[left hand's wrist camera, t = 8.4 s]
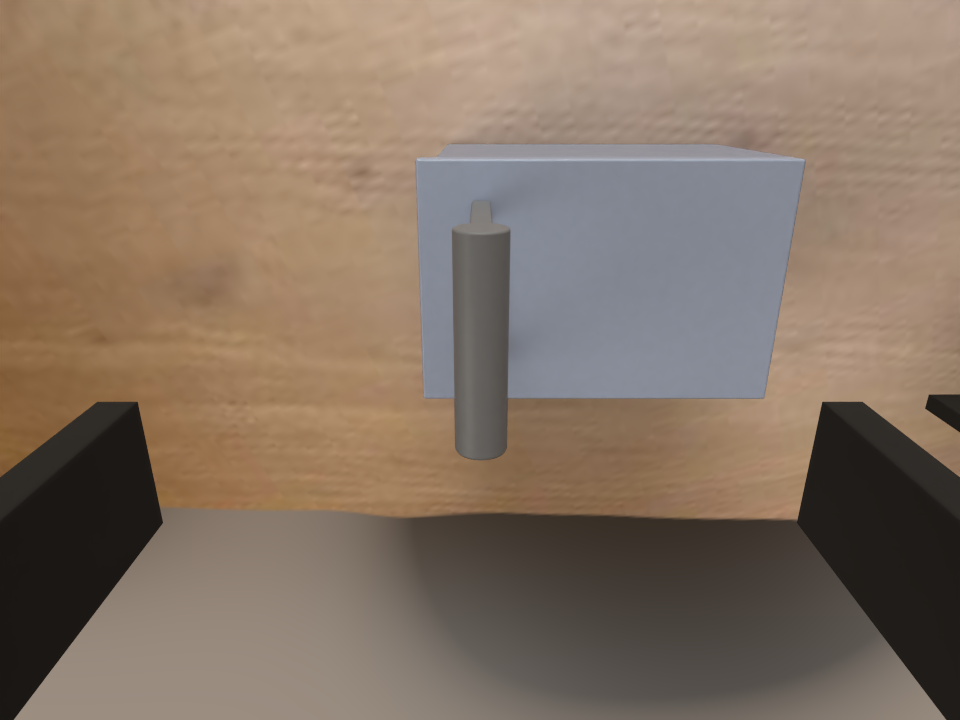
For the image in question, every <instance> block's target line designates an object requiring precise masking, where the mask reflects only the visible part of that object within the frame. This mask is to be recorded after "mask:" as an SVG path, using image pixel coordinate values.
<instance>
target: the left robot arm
mask: <svg viewBox="0 0 960 720" xmlns="http://www.w3.org/2000/svg"><path fill="white" fill-rule="evenodd" d="M162 523H163V521H162V516H161V512H160V506H159V502H158V497H157V492H156V487H155V483H154V478H153V473H152V468H151V464H150V459H149V454H148V449H147V445H146V440H145V435H144V430H143V426H142V421H141V416H140V411H139V407H138V402H97V403H95V404H94V405H93V406H92V407H90V408H89V409H88V410H86V411H85V412H84V413H83V414H81V415H80V416H79V417H77V418H76V419H75V420H74V421H72V422H71V423H70V424H68V425H67V426H66V427H65V428H63V429H62V430H61V431H59V432H58V433H57V434H56V435H54V436H53V437H52V438H50V439H49V440H48V441H47V442H45V443H44V444H43V445H41V446H40V447H39V448H38V449H36V450H35V451H34V452H32V453H31V454H30V455H29V456H27V457H26V458H25V459H23V460H22V461H21V462H19V463H18V464H17V465H16V466H14V467H13V468H12V469H10V470H9V471H8V472H7V473H5V474H4V475H3V476H1V477H0V720H14V718H15V717H16V716H17V715H18V713H19V712H20V711H21V709H22V708H23V707H24V705H25V704H26V703H27V701H28V700H29V699H30V697H31V696H32V695H33V693H34V692H35V691H36V689H37V688H38V687H39V686H40V684H41V683H42V682H43V680H44V679H45V678H46V676H47V675H48V674H49V672H50V671H51V670H52V668H53V667H54V666H55V664H56V663H57V662H58V661H59V659H60V658H61V656H62V655H63V654H64V653H65V651H66V650H67V649H68V647H69V646H70V645H71V643H72V642H73V641H74V639H75V638H76V637H77V635H78V634H79V633H80V632H81V630H82V629H83V628H84V626H85V625H86V624H87V622H88V621H89V620H90V618H91V617H92V616H93V614H94V613H95V612H96V610H97V609H98V608H99V606H100V605H101V604H102V602H103V601H104V600H105V599H106V597H107V596H108V595H109V593H110V592H111V591H112V589H113V588H114V587H115V585H116V584H117V583H118V581H119V580H120V579H121V577H122V576H123V575H124V574H125V572H126V571H127V570H128V568H129V567H130V566H131V564H132V563H133V562H134V560H135V559H136V558H137V556H138V555H139V554H140V552H141V551H142V550H143V548H144V547H145V546H146V544H147V543H148V542H149V541H150V539H151V538H152V537H153V535H154V534H155V533H156V531H157V530H158V529H159V527H160V526H161V525H162ZM797 523H798V525H799V526H800V527H801V529H802V530H803V531H804V533H805V534H806V535H807V537H808V538H809V539H810V541H811V542H812V543H813V545H814V546H815V547H816V548H817V550H818V551H819V552H820V554H821V555H822V556H823V558H824V559H825V560H826V562H827V563H828V564H829V566H830V567H831V568H832V570H833V571H834V572H835V574H836V575H837V576H838V577H839V579H840V580H841V581H842V583H843V584H844V585H845V587H846V588H847V589H848V591H849V592H850V593H851V595H852V596H853V597H854V599H855V600H856V601H857V603H858V604H859V605H860V606H861V608H862V609H863V610H864V612H865V613H866V614H867V616H868V617H869V618H870V620H871V621H872V622H873V623H874V625H875V626H876V628H877V629H878V630H879V632H880V633H881V634H882V635H883V637H884V638H885V639H886V641H887V642H888V643H889V645H890V646H891V647H892V649H893V650H894V651H895V653H896V654H897V655H898V657H899V658H900V659H901V660H902V662H903V663H904V664H905V666H906V667H907V668H908V670H909V671H910V672H911V674H912V675H913V676H914V678H915V679H916V680H917V682H918V683H919V684H920V686H921V687H922V688H923V689H924V691H925V692H926V693H927V695H928V696H929V697H930V699H931V700H932V701H933V703H934V704H935V705H936V707H937V708H938V709H939V711H940V712H941V713H942V715H943V716H944V717H945V719H946V720H960V477H959V476H957V475H956V474H955V473H953V472H952V471H951V470H950V469H948V468H947V467H946V466H944V465H943V464H942V463H941V462H939V461H938V460H937V459H935V458H934V457H933V456H931V455H930V454H929V453H928V452H926V451H925V450H924V449H922V448H921V447H920V446H919V445H917V444H916V443H915V442H913V441H912V440H911V439H910V438H908V437H907V436H906V435H904V434H903V433H902V432H901V431H899V430H898V429H897V428H895V427H894V426H893V425H892V424H890V423H889V422H888V421H886V420H885V419H884V418H883V417H881V416H880V415H879V414H877V413H876V412H875V411H874V410H872V409H871V408H870V407H868V406H867V405H866V404H865V403H863V402H822V407H821V411H820V416H819V421H818V426H817V430H816V435H815V440H814V445H813V449H812V454H811V459H810V464H809V468H808V473H807V478H806V483H805V487H804V492H803V497H802V502H801V506H800V511H799V516H798V521H797Z"/></svg>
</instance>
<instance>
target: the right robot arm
mask: <svg viewBox="0 0 960 720" xmlns="http://www.w3.org/2000/svg"><path fill="white" fill-rule="evenodd" d="M925 409H927V410H928V411H930V412H931V413H932V414H934V415H935V416H937V417H938V418H940V419H941V420H943V421H944V422H946V423H947V424H949V425H950V426H952V427H953V428H954V429H956V430H957V431H959V432H960V395H929V397H928V400H927V404H926V408H925Z"/></svg>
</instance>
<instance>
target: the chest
mask: <svg viewBox="0 0 960 720" xmlns="http://www.w3.org/2000/svg"><path fill="white" fill-rule="evenodd" d="M438 157H789V156H783V155H777V154H771V153H765V152H759V151H753V150H747V149H741V148H735V147H729V146H723V145H717V144H448V145H447V146H446V147H445V148H444V150H443V151H442V152H441V153H440V154H439V155H438Z"/></svg>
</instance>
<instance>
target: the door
mask: <svg viewBox="0 0 960 720" xmlns="http://www.w3.org/2000/svg"><path fill="white" fill-rule="evenodd" d="M804 167H805V160H804V159H800V158H794V157H419V158H418V159H416V190H417V219H418V248H419V277H420V306H421V335H422V364H423V393H424V398H454V403H455V448H456V450H457V452H458V453H459V454H460V455H461V456H463V457H465V458H468V459H473V460H489V459H494V458H497V457H499V456H501V455H502V454H503V453H504V452H505V451H506V448H507V411H508V399H763V398H764V396H765V391H766V385H767V379H768V374H769V368H770V362H771V356H772V351H773V345H774V339H775V333H776V328H777V322H778V316H779V310H780V305H781V299H782V293H783V288H784V282H785V276H786V270H787V265H788V259H789V253H790V247H791V242H792V236H793V230H794V224H795V219H796V213H797V207H798V202H799V196H800V190H801V184H802V179H803V173H804Z"/></svg>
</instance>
